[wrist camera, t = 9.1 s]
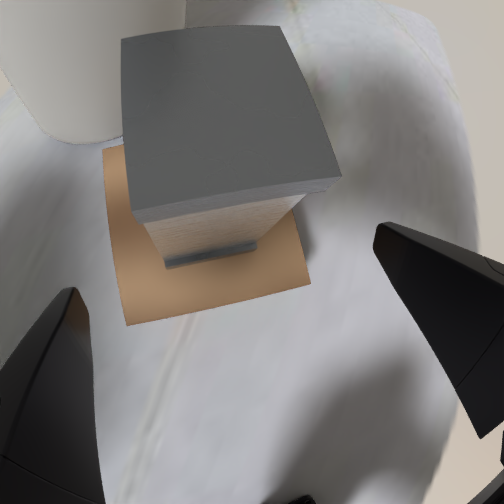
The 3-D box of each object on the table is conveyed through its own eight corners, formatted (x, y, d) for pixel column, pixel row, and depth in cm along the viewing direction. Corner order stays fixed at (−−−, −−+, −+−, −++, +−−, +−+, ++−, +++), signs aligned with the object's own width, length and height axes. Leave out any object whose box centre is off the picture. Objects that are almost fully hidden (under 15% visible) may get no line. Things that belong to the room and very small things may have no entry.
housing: (253, 251, 16) (341, 176, 7) (167, 269, 15) (130, 211, 6) (231, 162, 17) (279, 26, 7) (150, 176, 16) (120, 38, 6)
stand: (293, 287, 20) (311, 283, 17) (136, 322, 17) (126, 326, 14) (256, 145, 21) (266, 123, 18) (112, 170, 19) (102, 149, 16)
